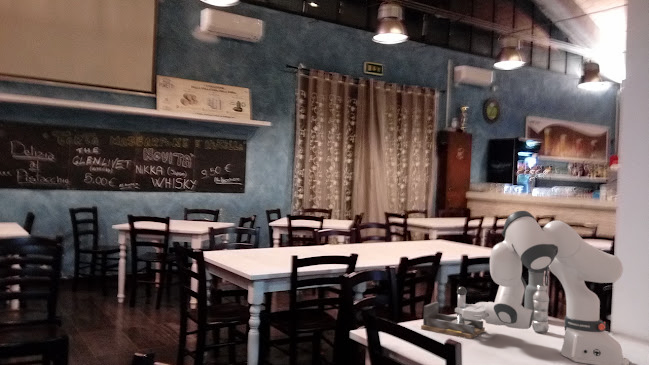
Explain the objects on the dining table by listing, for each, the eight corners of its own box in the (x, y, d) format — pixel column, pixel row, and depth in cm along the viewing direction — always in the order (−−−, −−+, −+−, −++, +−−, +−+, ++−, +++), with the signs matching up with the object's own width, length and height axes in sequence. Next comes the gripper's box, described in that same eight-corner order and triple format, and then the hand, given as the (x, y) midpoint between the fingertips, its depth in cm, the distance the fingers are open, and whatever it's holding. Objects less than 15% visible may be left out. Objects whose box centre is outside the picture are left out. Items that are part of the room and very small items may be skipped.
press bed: (484, 330, 232) (485, 308, 232) (470, 338, 219) (471, 315, 219) (436, 322, 245) (437, 301, 245) (421, 329, 232) (421, 306, 232)
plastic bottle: (540, 334, 228) (542, 287, 228) (528, 330, 235) (529, 284, 235) (552, 333, 231) (553, 286, 231) (539, 329, 237) (541, 283, 237)
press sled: (472, 327, 231) (473, 286, 231) (465, 331, 225) (466, 289, 225) (456, 324, 235) (457, 284, 235) (449, 328, 229) (450, 286, 229)
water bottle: (545, 317, 260) (546, 259, 260) (548, 322, 250) (550, 261, 250) (522, 315, 262) (524, 258, 262) (525, 320, 252) (527, 260, 253)
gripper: (483, 325, 214) (449, 319, 222) (499, 316, 230) (468, 311, 238) (483, 309, 214) (450, 304, 222) (500, 301, 230) (468, 296, 238)
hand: (459, 307), depth 230 cm, fingers open, 8 cm apart
